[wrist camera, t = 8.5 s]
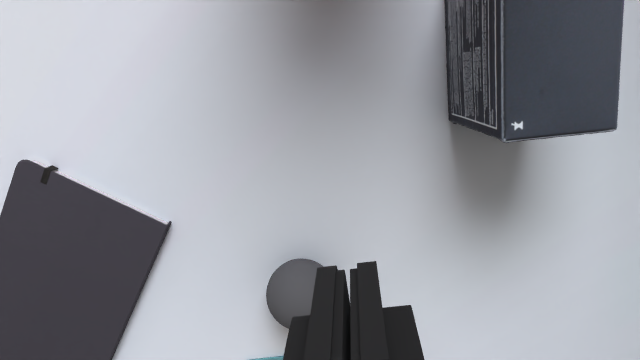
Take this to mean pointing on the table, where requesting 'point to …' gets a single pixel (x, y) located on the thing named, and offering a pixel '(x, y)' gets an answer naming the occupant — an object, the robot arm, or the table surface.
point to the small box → (534, 66)
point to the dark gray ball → (292, 290)
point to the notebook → (69, 266)
